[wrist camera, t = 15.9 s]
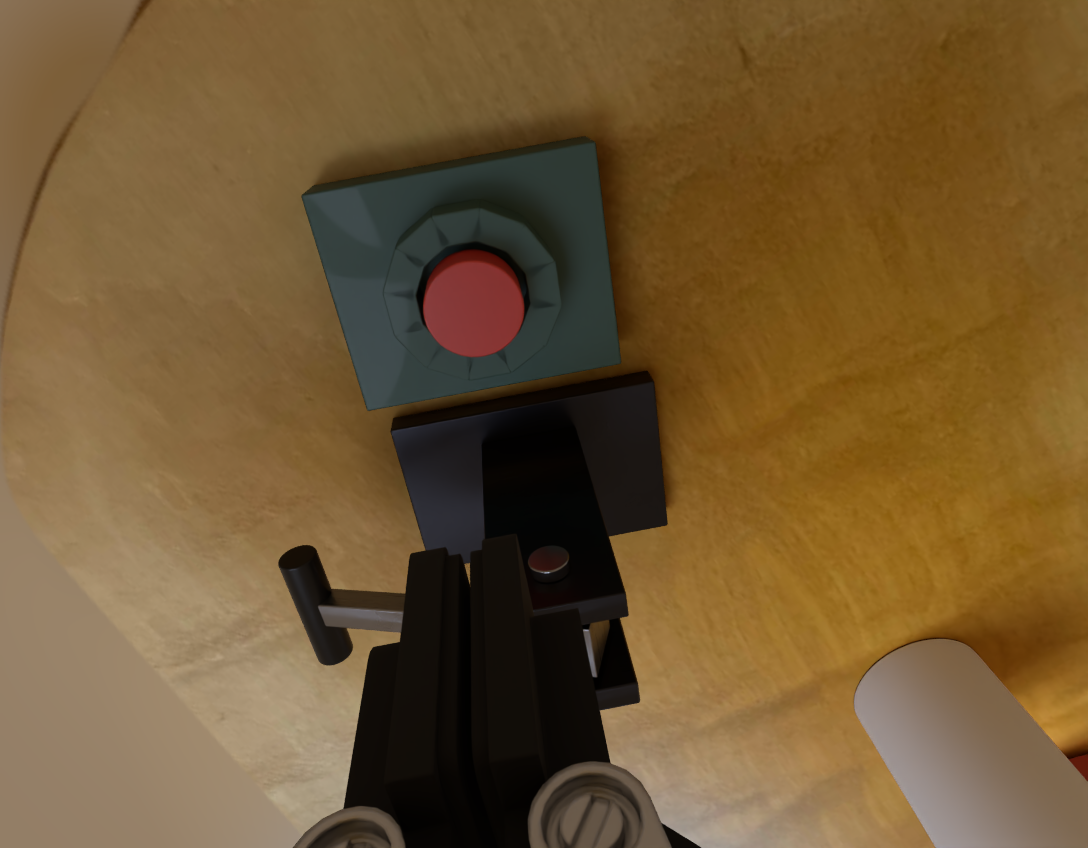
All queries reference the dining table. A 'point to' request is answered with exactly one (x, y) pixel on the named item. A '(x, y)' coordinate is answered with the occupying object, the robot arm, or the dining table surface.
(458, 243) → the button box
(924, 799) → the cup
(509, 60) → the dining table surface
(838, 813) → the dining table surface
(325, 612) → the lever
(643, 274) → the dining table surface
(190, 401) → the dining table surface
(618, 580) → the bracket
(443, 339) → the button
